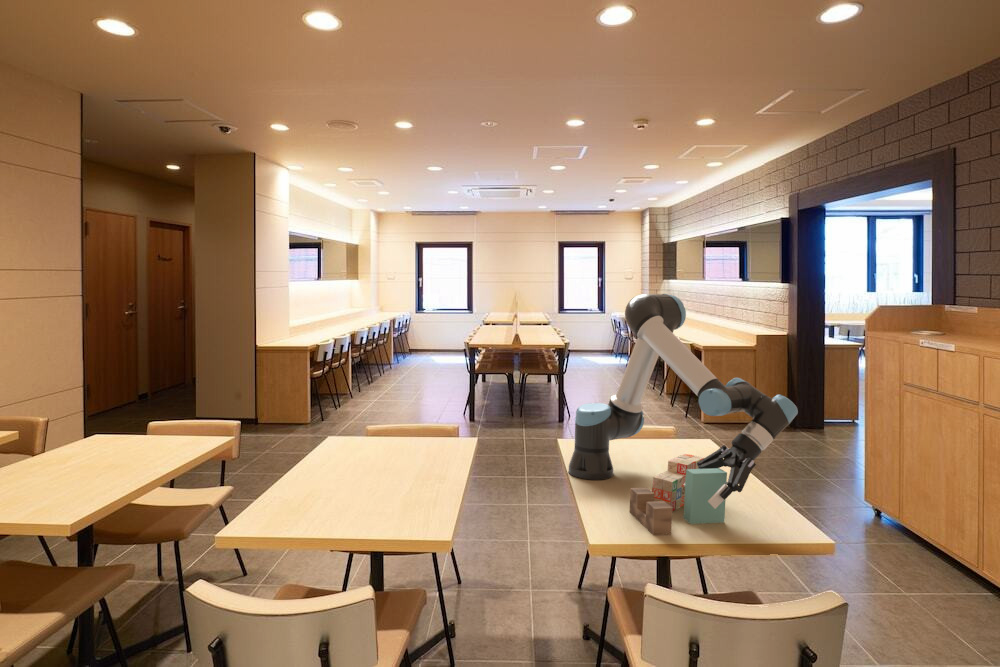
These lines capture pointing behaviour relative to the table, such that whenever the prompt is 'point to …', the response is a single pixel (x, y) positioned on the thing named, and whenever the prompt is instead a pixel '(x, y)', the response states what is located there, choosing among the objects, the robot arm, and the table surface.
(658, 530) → the staggered wooden block
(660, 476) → the stack of blocks
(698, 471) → the rectangular block
